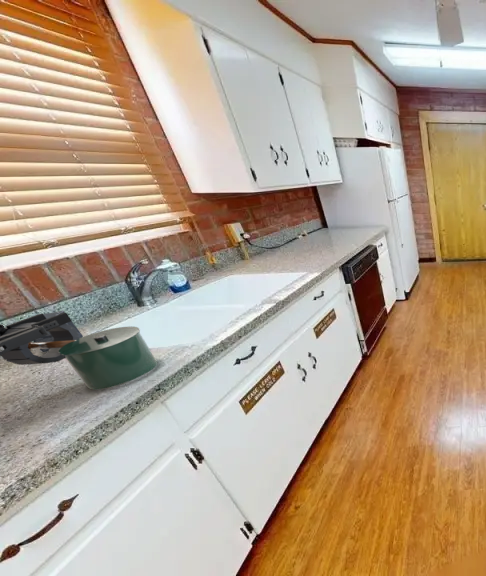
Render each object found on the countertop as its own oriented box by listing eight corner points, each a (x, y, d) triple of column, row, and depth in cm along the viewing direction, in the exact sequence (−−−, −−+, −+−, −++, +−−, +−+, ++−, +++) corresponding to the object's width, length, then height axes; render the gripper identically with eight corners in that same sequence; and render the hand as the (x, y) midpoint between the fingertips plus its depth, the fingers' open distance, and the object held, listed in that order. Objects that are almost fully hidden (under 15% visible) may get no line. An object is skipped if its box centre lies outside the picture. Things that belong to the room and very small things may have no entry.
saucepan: (9, 398, 77) (-28, 356, 71) (73, 364, 89) (45, 327, 84) (126, 389, 80) (99, 349, 75) (173, 358, 92) (152, 322, 87)
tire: (37, 371, 76) (8, 336, 72) (15, 373, 76) (-16, 337, 71) (88, 347, 86) (65, 314, 82) (69, 348, 86) (44, 315, 81)
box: (58, 341, 100) (38, 314, 96) (84, 336, 103) (64, 310, 99) (41, 353, 94) (18, 324, 90) (69, 347, 97) (47, 319, 92)
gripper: (-128, 390, 61) (27, 330, 82) (-25, 383, 63) (100, 327, 84) (-161, 361, 58) (8, 307, 79) (-52, 355, 60) (85, 303, 81)
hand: (55, 317), depth 82 cm, fingers closed on tire, 5 cm apart
